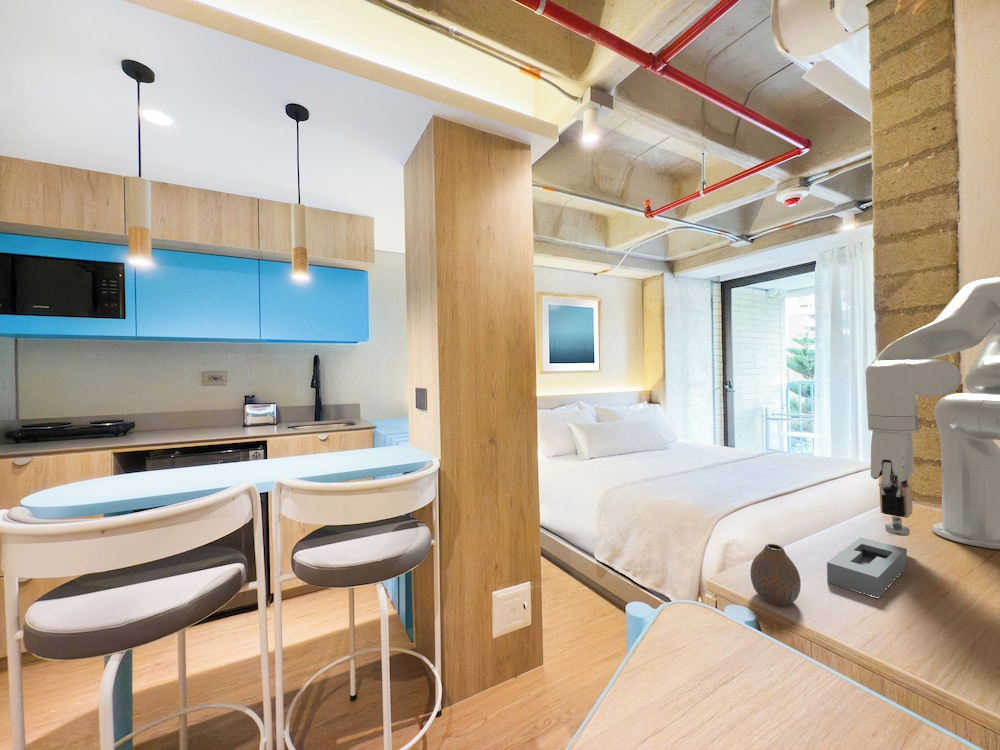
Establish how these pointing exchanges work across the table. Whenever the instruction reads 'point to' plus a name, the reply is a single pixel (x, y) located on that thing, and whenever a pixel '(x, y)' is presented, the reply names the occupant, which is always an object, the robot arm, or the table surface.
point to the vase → (775, 576)
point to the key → (896, 524)
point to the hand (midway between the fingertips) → (896, 511)
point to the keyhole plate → (867, 566)
